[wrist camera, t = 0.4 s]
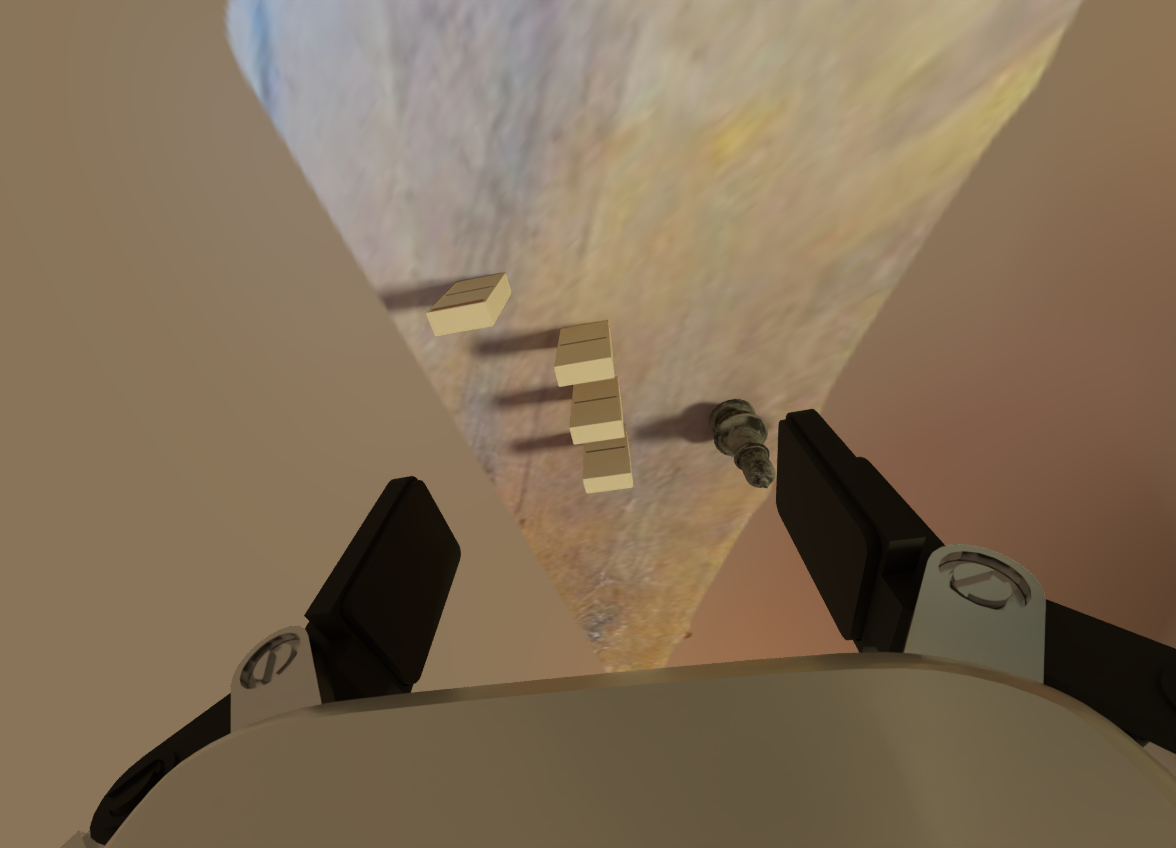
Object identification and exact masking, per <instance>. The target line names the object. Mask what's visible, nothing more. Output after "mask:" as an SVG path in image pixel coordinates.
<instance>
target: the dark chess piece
mask: <svg viewBox="0 0 1176 848" xmlns="http://www.w3.org/2000/svg"><path fill="white" fill-rule="evenodd" d="M709 421H710V426H711V429H712V430H713V431H714V432H715V435H714V443H715V445H716V448H717V449H718V450H719V451H720V452H721V453H723V454H725V455H728V456H734V462H735V465H736V466H737V467H738V468H739V469H741V470H742V471H743V473H744V475H745V478H746V480H747V482H748V483H749V484H750V485H752V486H754V487H758V488H762V487H764V488H768V486H769V485H770V484H771V483H772V482H773V480H774V479H775V475H776V473H775V469H774V467H773V465H772V464H771V462H770V460H769V450H768V448H767V447H766V446H764V445H763V443H764V442H765V440H766V438H767V435H768V427H767V424H766V422H765V421H764V420H763V419H762V418H761V417H759V416H757V415H755V411H754V408H753V407H752V406H751V404H750V403H748V402H746V401H744V400H740V399H733V400H728V401H726V402H723V403H721V404H720V405H718V406H717V407H716V408H715V409H714V410H713V412H712V414H711V416H710V420H709Z"/></svg>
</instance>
